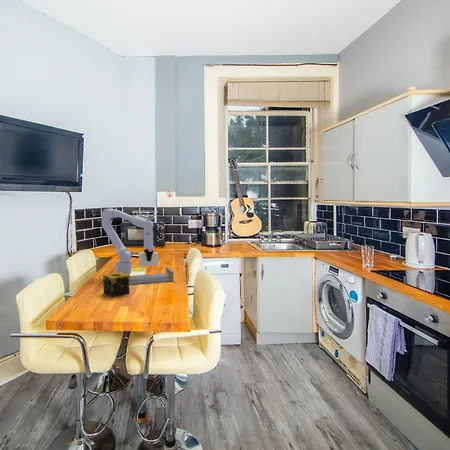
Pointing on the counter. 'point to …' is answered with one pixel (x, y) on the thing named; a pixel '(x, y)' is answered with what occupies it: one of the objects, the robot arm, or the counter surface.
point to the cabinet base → (151, 277)
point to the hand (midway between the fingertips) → (148, 260)
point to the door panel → (144, 261)
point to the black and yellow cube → (116, 284)
